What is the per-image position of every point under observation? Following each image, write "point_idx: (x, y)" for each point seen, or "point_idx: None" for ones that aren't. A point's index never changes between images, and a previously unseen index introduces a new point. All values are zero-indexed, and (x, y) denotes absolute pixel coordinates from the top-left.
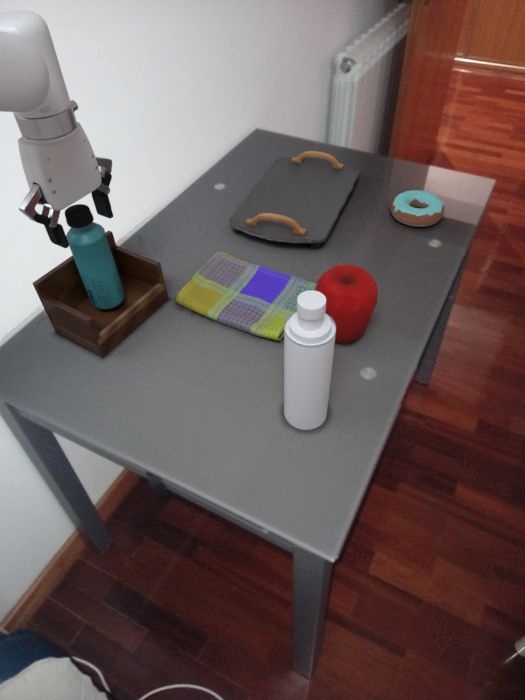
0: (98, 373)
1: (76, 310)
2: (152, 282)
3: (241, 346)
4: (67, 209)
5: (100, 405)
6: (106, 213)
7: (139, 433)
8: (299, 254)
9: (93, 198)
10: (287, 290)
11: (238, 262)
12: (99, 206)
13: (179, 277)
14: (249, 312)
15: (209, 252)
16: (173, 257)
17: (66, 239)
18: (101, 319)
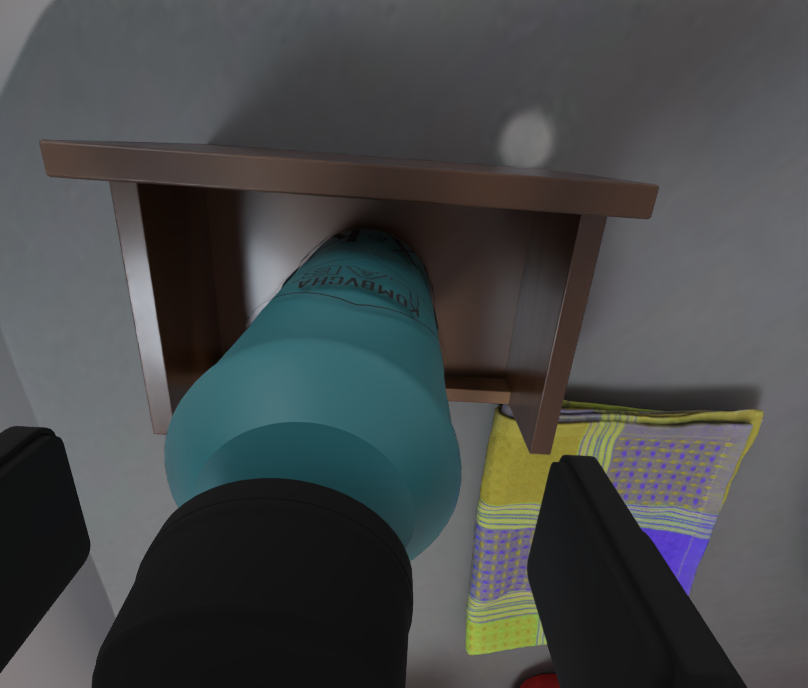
0: None
1: (161, 362)
2: (513, 363)
3: (431, 580)
4: (180, 641)
5: (121, 438)
6: (541, 585)
7: (132, 536)
8: (800, 556)
9: (621, 610)
10: None
11: (714, 485)
12: (572, 581)
13: (619, 336)
14: (526, 574)
15: (774, 349)
16: (723, 254)
17: (44, 605)
18: None
